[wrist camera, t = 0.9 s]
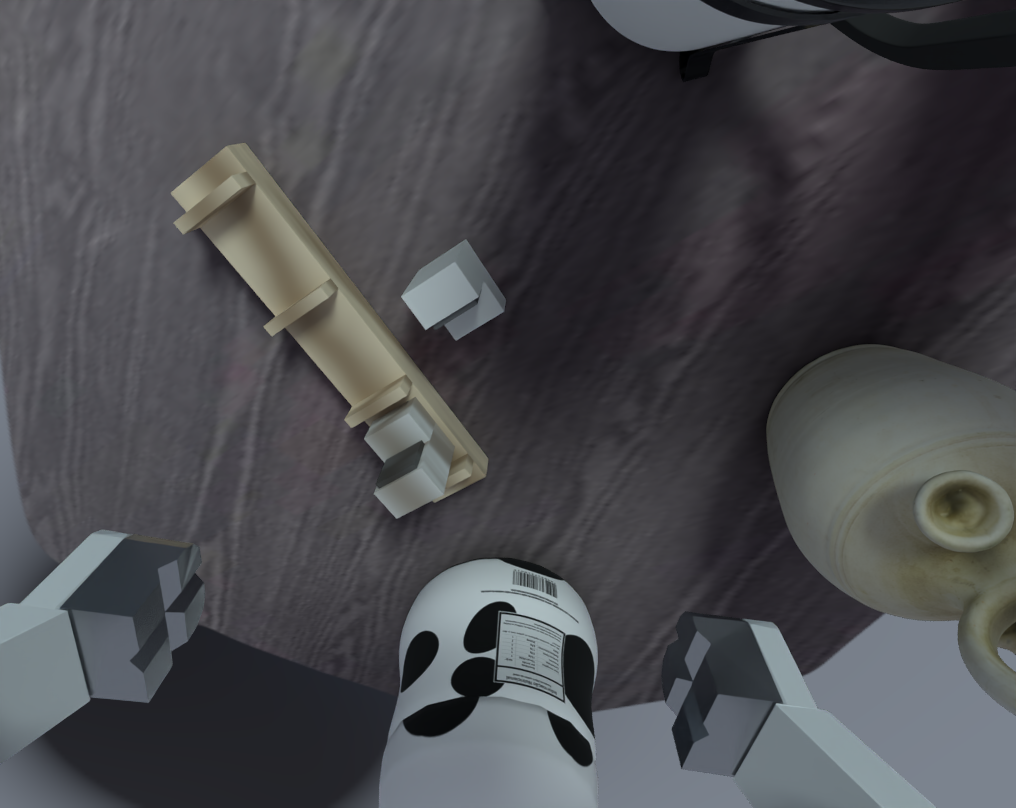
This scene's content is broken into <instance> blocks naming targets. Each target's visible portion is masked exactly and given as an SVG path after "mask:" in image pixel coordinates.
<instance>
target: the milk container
mask: <svg viewBox="0 0 1016 808" xmlns="http://www.w3.org/2000/svg"><path fill="white" fill-rule="evenodd" d="M597 664H598V652H597V642H596V636H595V632H594V628H593V625H592V622H591V618H590V616H589V613H588V610H587V608H586V606H585V604H584V602H583V601H582V599H581V598H580V596H579V595H578V594H577V593H576V591H575V590H574V589H573V588H572V587H571V586H570V585H569V584H568V583H567V582H566V581H565V580H564V579H562V578H561V577H559V576H558V575H556V574H555V573H553V572H551V571H549V570H548V569H546V568H544V567H542V566H539V565H536V564H533V563H529V562H526V561H522V560H518V559H512V558H480V559H475V560H471V561H467V562H464V563H460V564H457V565H455V566H452V567H450V568H448V569H446V570H445V571H443V572H442V573H440V574H439V575H438V576H436V577H435V578H433V579H432V580H431V581H430V582H429V583H428V584H427V585H426V586H425V587H424V588H423V589H422V590H421V591H420V593H419V594H418V596H417V598H416V599H415V601H414V603H413V605H412V607H411V609H410V611H409V613H408V616H407V618H406V621H405V624H404V627H403V630H402V634H401V639H400V647H399V668H400V691H399V696H398V700H397V704H396V708H395V712H394V715H393V719H392V723H391V726H390V730H389V734H388V742H387V745H386V748H385V751H384V756H383V760H382V767H381V775H380V785H379V808H598V775H597V770H596V764H595V761H596V746H595V737H594V728H593V720H592V710H591V699H592V693H593V688H594V683H595V678H596V672H597Z"/></svg>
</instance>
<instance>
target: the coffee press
mask: <svg viewBox="0 0 1016 808" xmlns="http://www.w3.org/2000/svg"><path fill="white" fill-rule="evenodd" d="M591 1H592V3H593V4H594V6H595V8H596V9H597V10H598V12H599V13H600V14H601V15H602V17H603V18H604V19H605V20H606V21H607V22H608V23H609V24H610V25H611V26H612V27H613V28H614V29H615V30H617V31H618V32H619V33H621V34H622V35H623V36H625V37H626V38H628V39H630V40H632V41H634V42H636V43H638V44H640V45H643V46H646V47H649V48H652V49H657V50H663V51H680V57H679V66H680V74H681V79H682V81H683V82H686V81H690V80H694V79H698V78H702V77H706V76H708V73H709V69H710V65H711V61H712V57H713V54H714V53H715V52H716V51H717V50H720V49H724V48H728V47H732V46H736V45H740V44H745V43H749V42H753V41H757V40H761V39H765V38H770V37H774V36H778V35H782V34H786V33H790V32H795V31H799V30H803V29H807V28H811V27H815V26H819V25H824V24H828V23H830V24H832V25H833V26H834V27H835V28H837V29H838V30H839V31H841V32H842V33H843V34H845V35H846V36H848V37H849V38H850V39H852V40H853V41H855V42H857V43H858V44H860V45H861V46H863V47H865V48H866V49H868V50H870V51H872V52H874V53H876V54H878V55H880V56H882V57H884V58H887V59H889V60H891V61H894V62H897V63H900V64H903V65H907V66H911V67H916V68H922V69H932V70H958V69H979V68H997V67H1014V66H1016V9H1013V10H1008V11H1002V12H996V13H991V14H985V15H979V16H974V17H968V18H962V19H956V20H951V21H945V22H938V23H930V24H919V23H913V22H908V21H905V20H901V19H898V18H896V17H893V16H891V15H889V14H887V13H897V12H906V11H913V10H920V9H925V8H930V7H935V6H940V5H944V4H949V3H953V2H958V1H962V0H591ZM786 26H795V27H791V28H787V29H784V30H780V31H776V32H772V33H768V34H764V35H761V36H757V37H753V38H749V37H751V36H753V35H756V34H760V33H763V32H767V31H771V30H774V29H778V28H782V27H786ZM747 38H749V39H747ZM733 40H735V41H733ZM729 41H733V42H731V43H729V44H726V45H723V46H719V47H715V48H711V49H707V50H704V48H706V47H710V46H714V45H718V44H722V43H726V42H729ZM703 50H704V51H703Z"/></svg>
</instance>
